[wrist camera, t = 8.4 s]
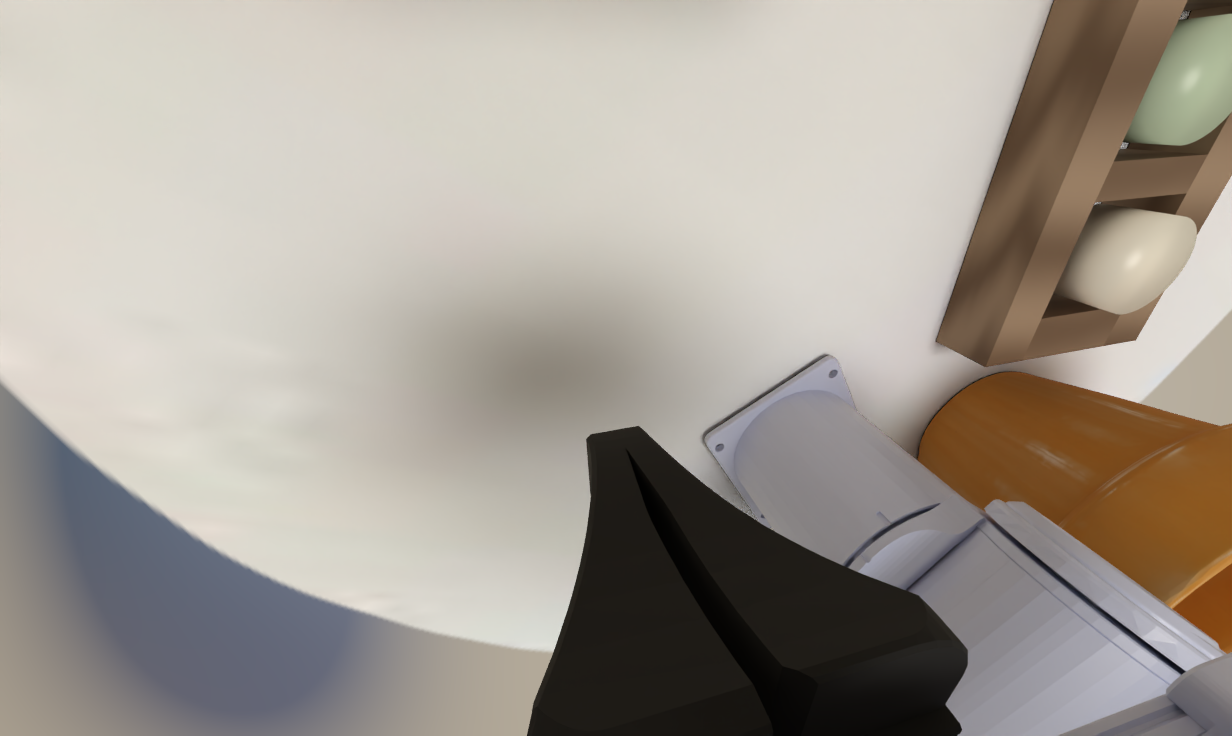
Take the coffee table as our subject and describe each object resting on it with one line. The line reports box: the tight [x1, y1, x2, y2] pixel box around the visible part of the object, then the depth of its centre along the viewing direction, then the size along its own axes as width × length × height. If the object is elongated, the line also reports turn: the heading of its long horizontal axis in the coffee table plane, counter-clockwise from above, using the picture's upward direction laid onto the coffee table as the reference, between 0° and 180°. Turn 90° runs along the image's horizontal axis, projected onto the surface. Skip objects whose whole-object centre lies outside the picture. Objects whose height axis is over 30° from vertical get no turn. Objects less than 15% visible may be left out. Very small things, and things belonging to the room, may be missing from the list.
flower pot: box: [918, 372, 1232, 654], centre depth 25 cm, size 14×14×13 cm
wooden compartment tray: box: [936, 0, 1232, 367], centre depth 20 cm, size 24×10×3 cm, turn 2°
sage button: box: [1123, 14, 1232, 146], centre depth 19 cm, size 4×4×3 cm
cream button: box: [1054, 204, 1197, 314], centre depth 22 cm, size 4×4×3 cm
